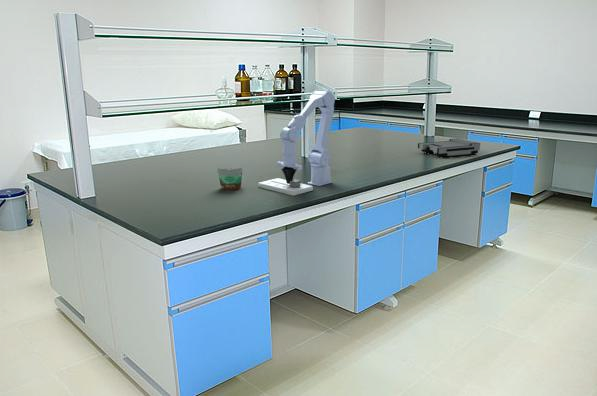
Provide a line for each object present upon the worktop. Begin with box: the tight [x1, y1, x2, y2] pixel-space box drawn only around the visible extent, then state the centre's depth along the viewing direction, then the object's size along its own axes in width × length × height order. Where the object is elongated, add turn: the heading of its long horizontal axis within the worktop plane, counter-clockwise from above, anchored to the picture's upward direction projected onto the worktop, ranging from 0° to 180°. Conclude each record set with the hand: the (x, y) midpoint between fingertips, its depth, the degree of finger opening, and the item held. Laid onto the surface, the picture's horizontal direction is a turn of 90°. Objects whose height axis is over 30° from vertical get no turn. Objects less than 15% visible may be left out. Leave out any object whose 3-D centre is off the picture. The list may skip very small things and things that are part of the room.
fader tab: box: [290, 179, 302, 188], centre depth 224 cm, size 4×3×3 cm
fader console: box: [257, 177, 314, 197], centre depth 229 cm, size 13×23×2 cm, turn 47°
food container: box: [216, 167, 245, 192], centre depth 227 cm, size 12×6×10 cm, turn 106°
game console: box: [417, 137, 481, 159], centre depth 313 cm, size 21×32×8 cm, turn 113°
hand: (289, 183), depth 227 cm, fingers closed
